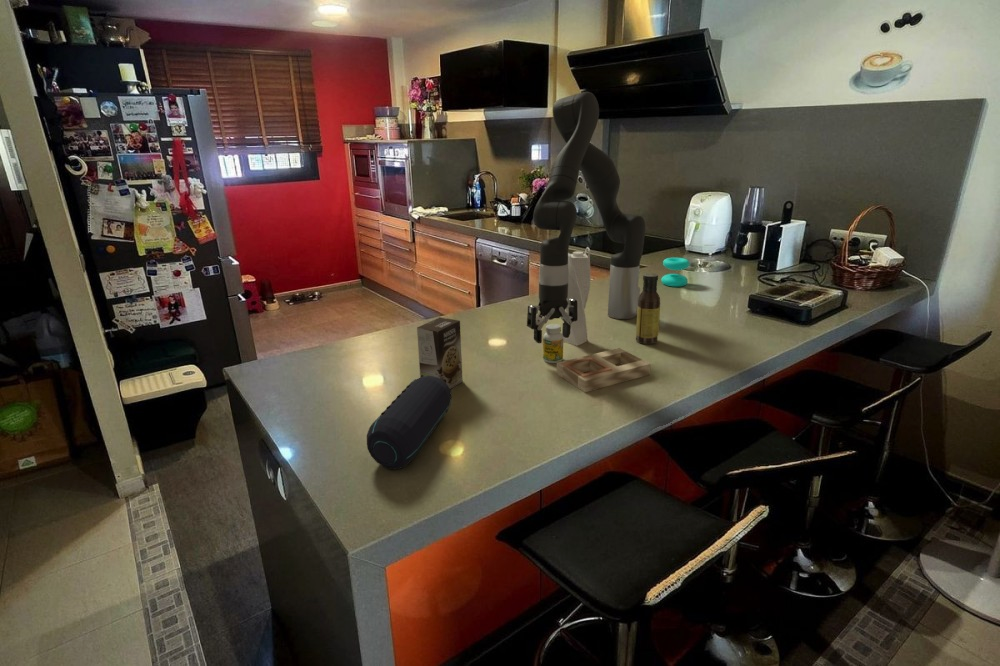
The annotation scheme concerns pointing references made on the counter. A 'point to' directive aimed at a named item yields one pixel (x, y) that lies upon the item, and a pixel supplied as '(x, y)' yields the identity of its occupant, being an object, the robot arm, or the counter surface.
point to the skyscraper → (578, 294)
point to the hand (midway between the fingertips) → (552, 339)
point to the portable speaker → (408, 422)
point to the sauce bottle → (648, 311)
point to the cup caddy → (602, 369)
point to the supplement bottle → (553, 344)
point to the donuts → (675, 279)
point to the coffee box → (441, 350)
